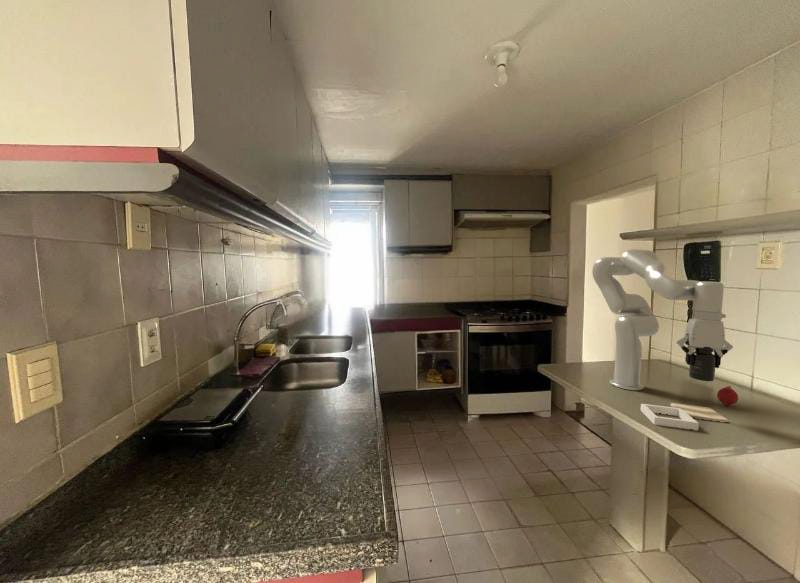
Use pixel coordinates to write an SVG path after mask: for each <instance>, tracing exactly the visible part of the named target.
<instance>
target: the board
mask: <svg viewBox="0 0 800 583" xmlns="http://www.w3.org/2000/svg"><path fill="white" fill-rule="evenodd" d="M670 407H673V408H680V409H682V410H683V411H684V412H686V413H687V414H688V415H689V416H691V417H692V418H695V419H694V420H701V419H704V420H703V421H709V420H712V421H711V422H716V421H720V422H719V423H724V422H728V423H729V420H728V419H727V418H726V417H724V416H723V415H722V414H720V413H718V412H716V411H715V409H712V408H711V407H707V406H702V405H701V406H700V405H692V404H684V403H675V402H674V403H673V402H670Z"/></svg>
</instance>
